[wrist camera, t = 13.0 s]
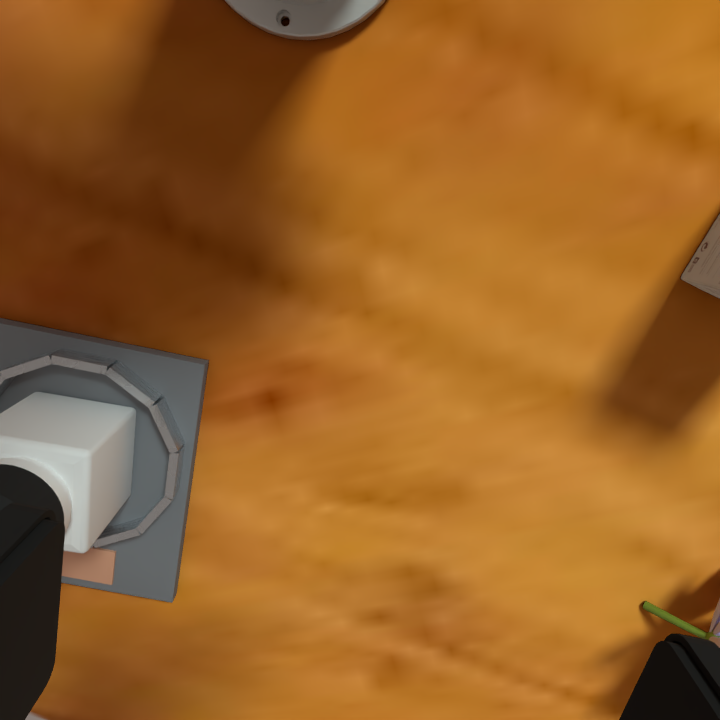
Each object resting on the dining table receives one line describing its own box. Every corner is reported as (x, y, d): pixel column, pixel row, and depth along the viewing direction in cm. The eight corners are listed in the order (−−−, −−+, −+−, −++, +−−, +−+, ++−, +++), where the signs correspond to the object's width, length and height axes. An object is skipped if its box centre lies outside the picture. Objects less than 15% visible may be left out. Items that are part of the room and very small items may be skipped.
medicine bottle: (35, 389, 39) (-105, 474, 27) (138, 406, 39) (43, 498, 28) (34, 479, 41) (-96, 594, 29) (132, 495, 41) (41, 615, 30)
